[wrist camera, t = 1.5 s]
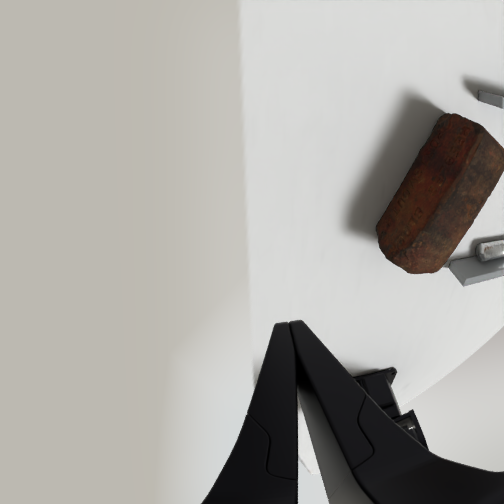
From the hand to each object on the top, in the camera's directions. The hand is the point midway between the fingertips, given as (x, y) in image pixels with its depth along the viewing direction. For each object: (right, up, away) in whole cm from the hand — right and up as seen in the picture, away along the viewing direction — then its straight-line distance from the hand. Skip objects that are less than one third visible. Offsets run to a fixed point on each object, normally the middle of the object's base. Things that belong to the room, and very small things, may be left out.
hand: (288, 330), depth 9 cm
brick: (+11, +7, +10) cm, 17 cm away
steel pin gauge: (+23, +3, +13) cm, 27 cm away
